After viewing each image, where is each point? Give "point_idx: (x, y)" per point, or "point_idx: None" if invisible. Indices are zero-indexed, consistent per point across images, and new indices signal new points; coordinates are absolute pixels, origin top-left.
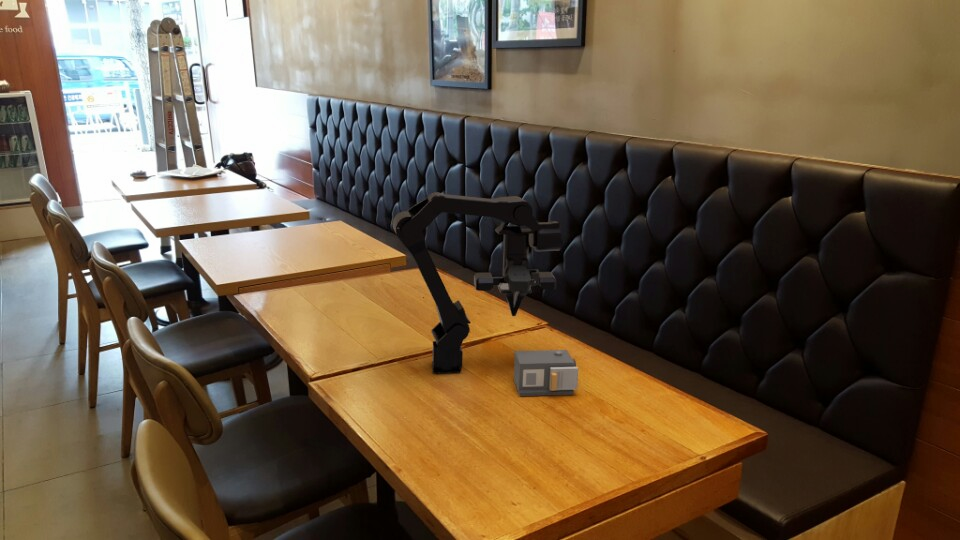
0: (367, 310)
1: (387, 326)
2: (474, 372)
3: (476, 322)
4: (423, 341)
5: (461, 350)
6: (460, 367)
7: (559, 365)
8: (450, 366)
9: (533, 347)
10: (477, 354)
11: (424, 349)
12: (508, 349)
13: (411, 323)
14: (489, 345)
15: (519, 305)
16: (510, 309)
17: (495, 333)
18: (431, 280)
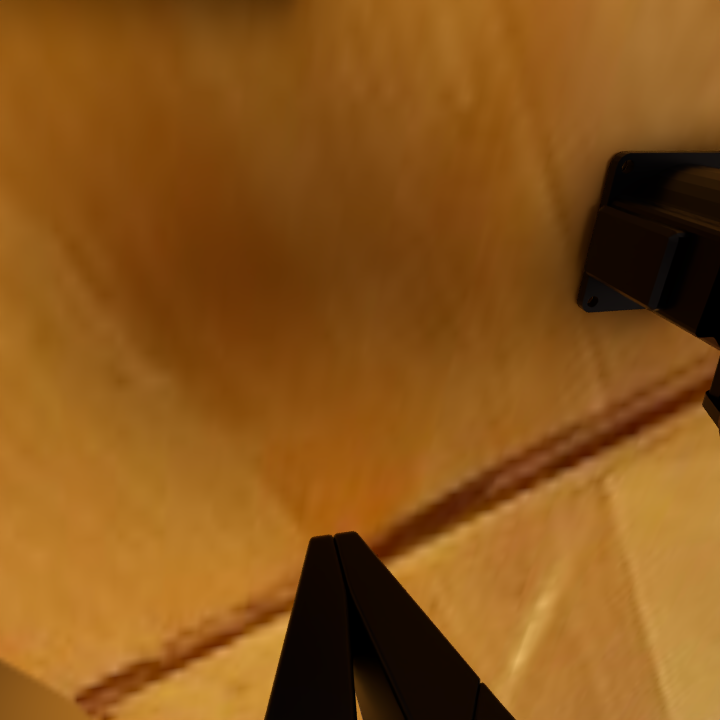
0: (716, 686)
1: (710, 602)
2: (529, 166)
3: None
4: (642, 508)
5: (676, 248)
6: (606, 208)
7: None
8: (693, 170)
9: (132, 501)
10: (454, 401)
11: (668, 438)
12: (280, 467)
13: (626, 634)
14: (373, 500)
15: (276, 694)
16: (414, 601)
17: None
18: None
